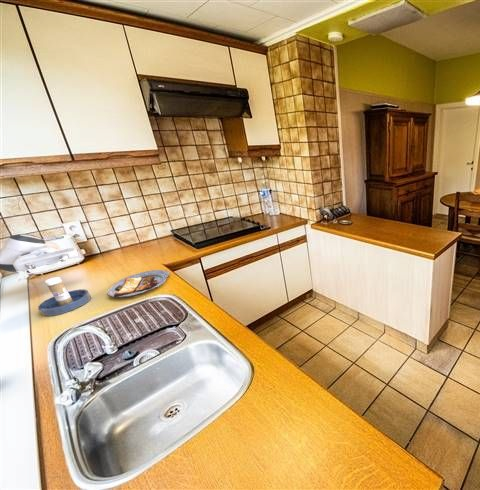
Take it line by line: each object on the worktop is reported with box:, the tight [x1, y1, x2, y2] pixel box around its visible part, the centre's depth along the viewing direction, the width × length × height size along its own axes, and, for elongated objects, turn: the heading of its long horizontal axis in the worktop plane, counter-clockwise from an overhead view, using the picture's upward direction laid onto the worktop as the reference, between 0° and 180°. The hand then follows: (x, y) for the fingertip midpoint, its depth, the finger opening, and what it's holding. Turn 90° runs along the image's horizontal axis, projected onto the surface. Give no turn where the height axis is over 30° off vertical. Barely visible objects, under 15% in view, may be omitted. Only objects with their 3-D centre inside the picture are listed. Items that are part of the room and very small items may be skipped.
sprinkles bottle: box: [44, 276, 73, 306], centre depth 117 cm, size 5×5×13 cm
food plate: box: [106, 269, 171, 299], centre depth 132 cm, size 25×23×4 cm
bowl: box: [37, 288, 92, 317], centre depth 120 cm, size 16×16×4 cm
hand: (48, 263), depth 122 cm, fingers open, 8 cm apart
